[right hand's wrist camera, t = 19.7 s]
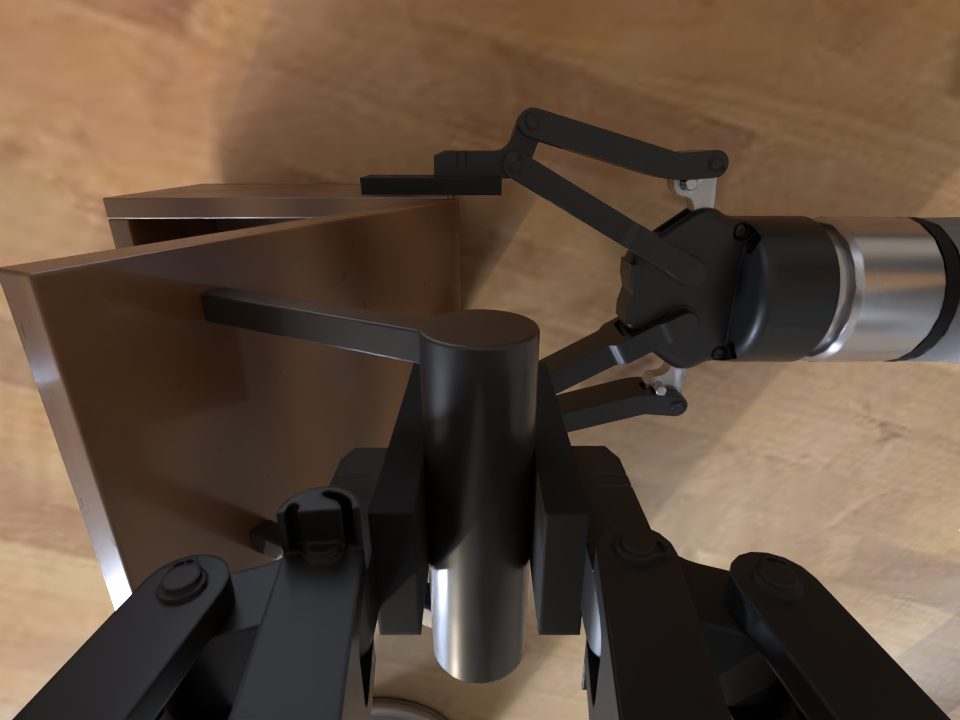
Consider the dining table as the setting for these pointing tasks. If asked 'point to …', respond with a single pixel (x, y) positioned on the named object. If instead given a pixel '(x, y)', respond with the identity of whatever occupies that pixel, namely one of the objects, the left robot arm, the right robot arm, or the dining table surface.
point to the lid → (291, 400)
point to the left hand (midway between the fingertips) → (374, 290)
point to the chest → (232, 208)
